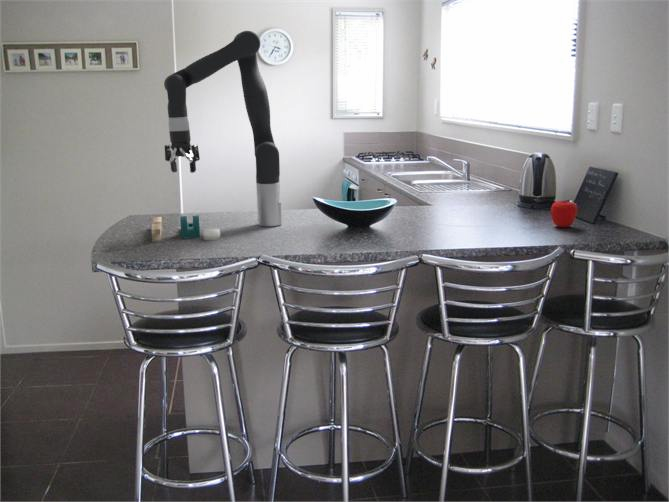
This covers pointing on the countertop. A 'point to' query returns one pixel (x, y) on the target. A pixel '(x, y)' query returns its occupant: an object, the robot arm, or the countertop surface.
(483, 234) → the countertop surface
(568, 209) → the apple
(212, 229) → the rounded smooth part
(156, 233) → the batten
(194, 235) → the bracket
